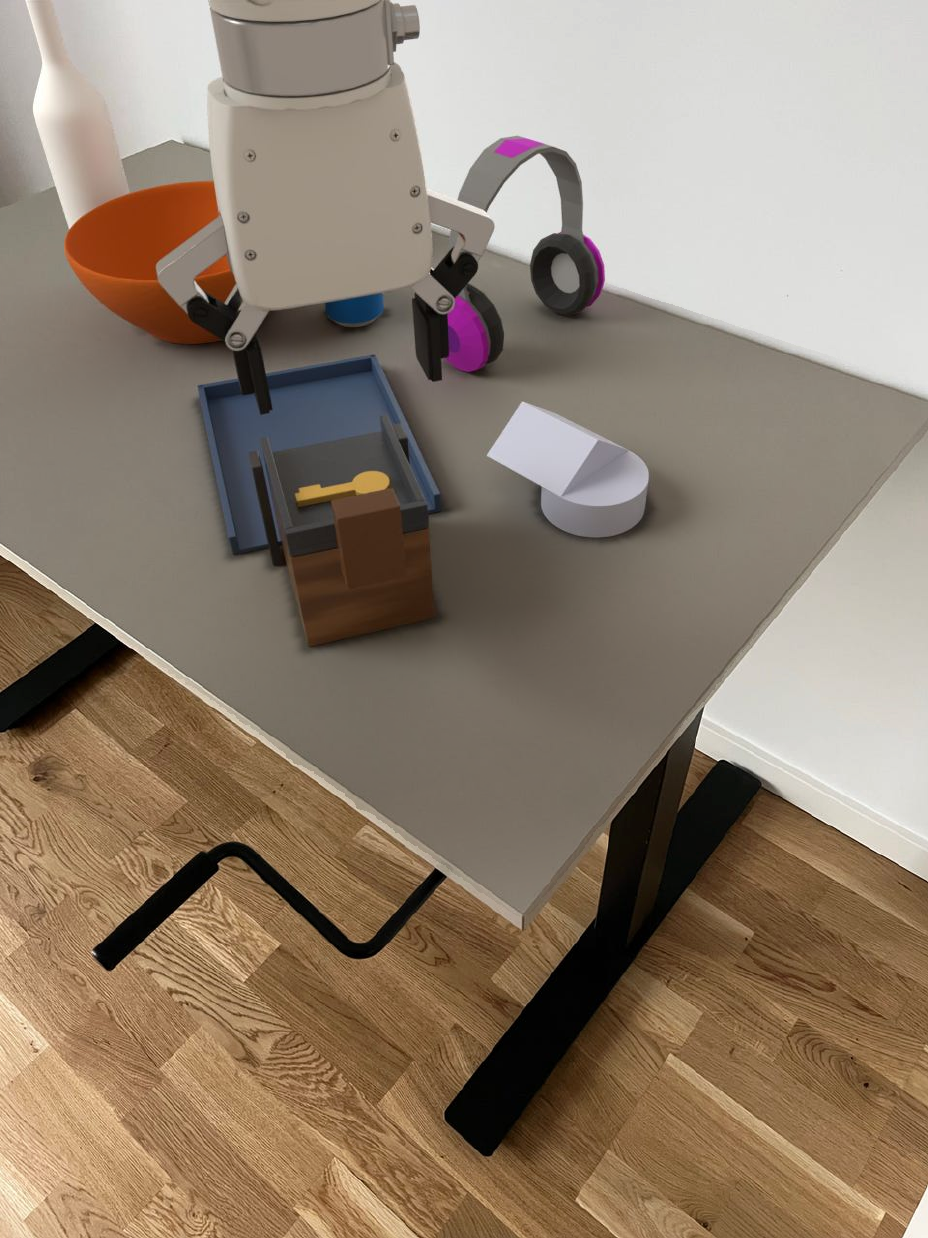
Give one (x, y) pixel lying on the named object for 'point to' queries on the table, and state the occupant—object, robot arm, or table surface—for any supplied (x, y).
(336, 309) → the beverage can
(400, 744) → the table surface
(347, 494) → the key
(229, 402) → the tray
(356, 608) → the stand
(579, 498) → the wedge on round base
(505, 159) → the headphones
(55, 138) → the bottle
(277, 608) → the table surface
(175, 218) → the bowl
